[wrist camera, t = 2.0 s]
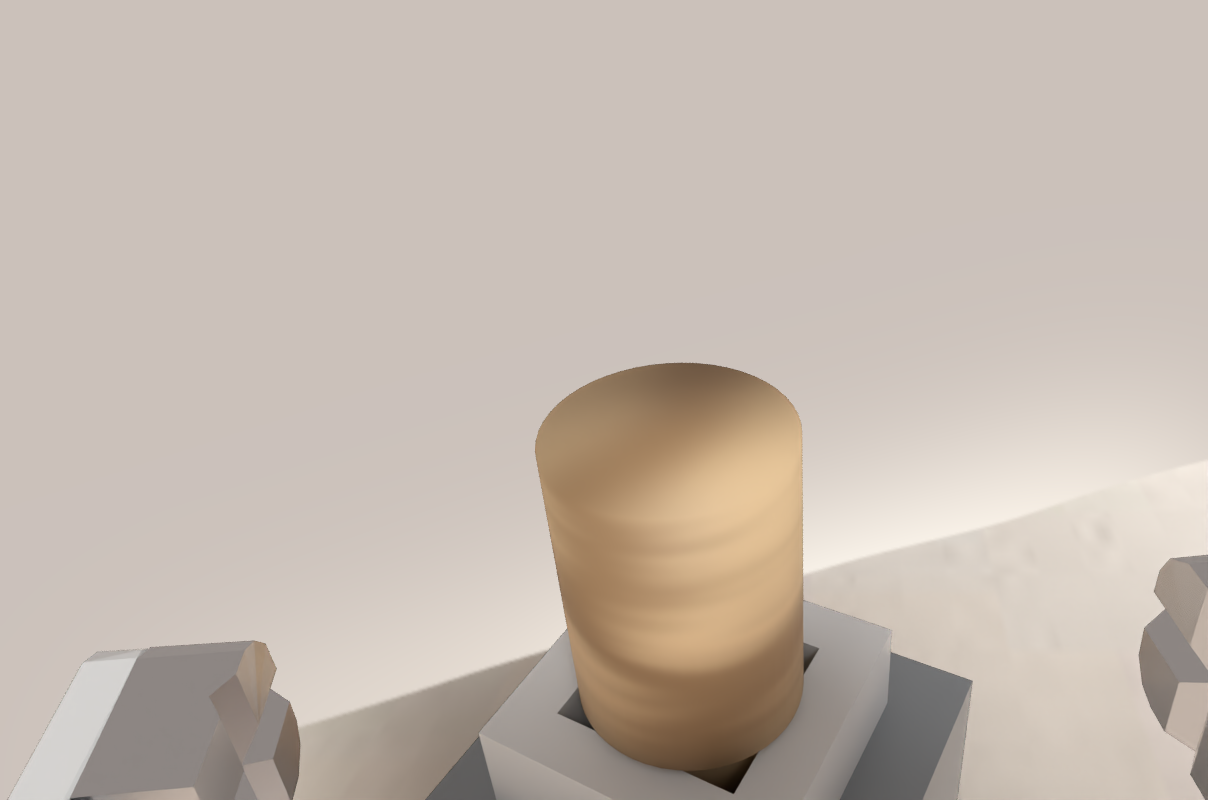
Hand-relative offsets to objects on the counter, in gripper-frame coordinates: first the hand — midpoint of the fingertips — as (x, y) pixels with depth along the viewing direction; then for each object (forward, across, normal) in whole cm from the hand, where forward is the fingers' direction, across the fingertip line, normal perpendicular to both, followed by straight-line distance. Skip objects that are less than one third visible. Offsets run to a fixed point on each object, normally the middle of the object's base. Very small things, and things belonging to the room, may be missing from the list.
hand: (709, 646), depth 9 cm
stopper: (+12, 0, +17) cm, 21 cm away
